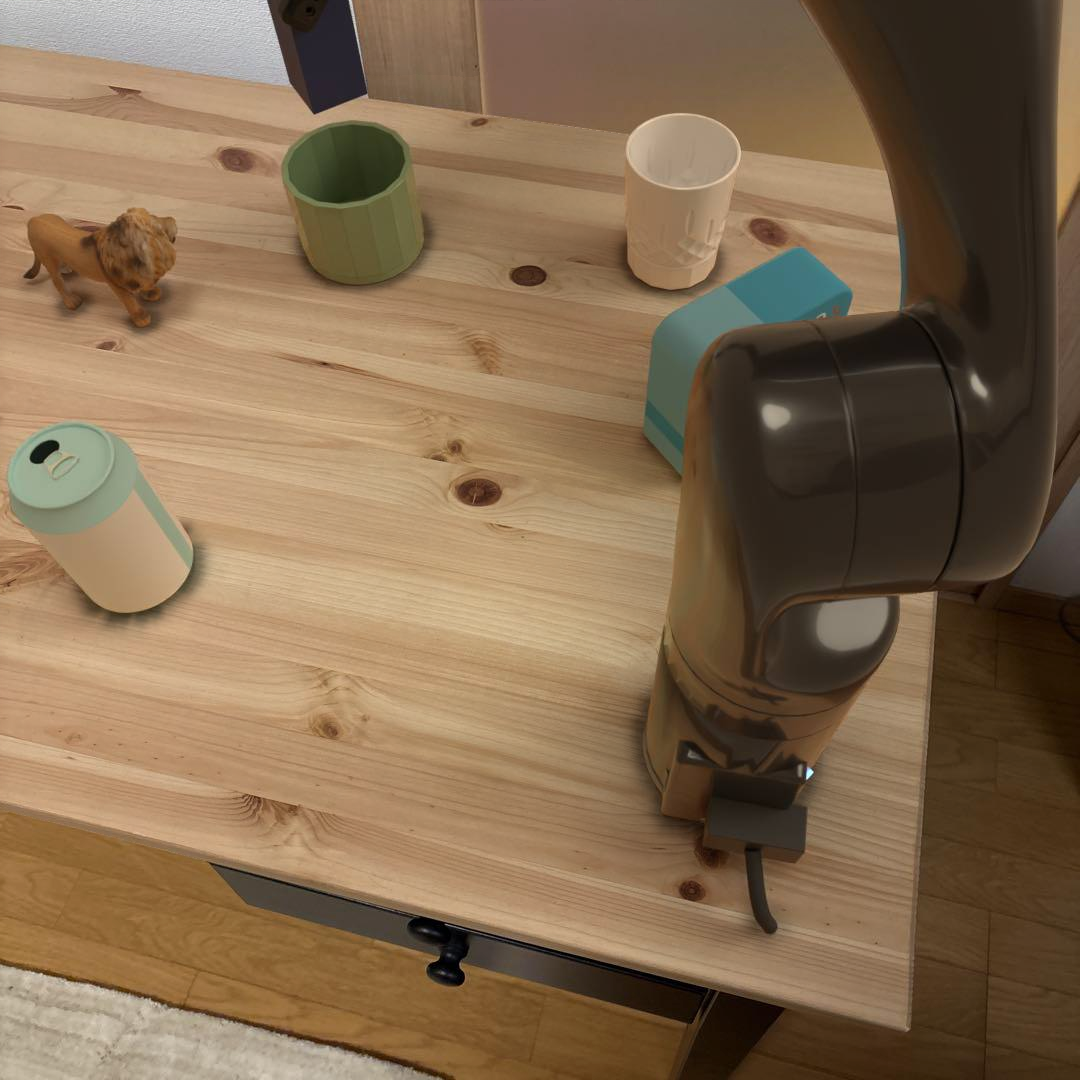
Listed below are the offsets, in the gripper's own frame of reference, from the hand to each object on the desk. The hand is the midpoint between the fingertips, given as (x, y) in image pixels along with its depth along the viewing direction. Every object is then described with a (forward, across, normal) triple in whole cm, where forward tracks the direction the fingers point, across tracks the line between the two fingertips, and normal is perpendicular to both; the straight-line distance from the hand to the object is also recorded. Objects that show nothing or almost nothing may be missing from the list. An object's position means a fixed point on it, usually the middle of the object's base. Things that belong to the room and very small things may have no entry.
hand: (277, 4), depth 61 cm
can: (+31, +19, -2) cm, 36 cm away
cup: (+13, 0, +16) cm, 20 cm away
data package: (+3, +30, +25) cm, 39 cm away
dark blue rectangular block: (+3, 0, +6) cm, 7 cm away
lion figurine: (+26, -5, +3) cm, 27 cm away
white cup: (-1, +15, +29) cm, 33 cm away
